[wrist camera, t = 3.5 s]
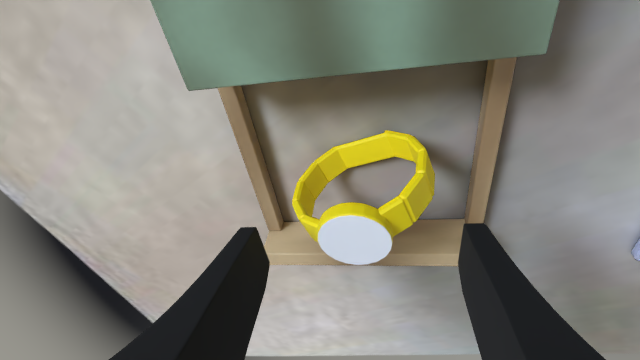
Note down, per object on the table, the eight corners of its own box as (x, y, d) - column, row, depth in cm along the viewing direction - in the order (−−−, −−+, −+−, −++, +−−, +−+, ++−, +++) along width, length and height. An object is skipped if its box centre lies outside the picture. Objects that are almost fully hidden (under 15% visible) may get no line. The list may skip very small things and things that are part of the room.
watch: (415, 104, 15) (432, 193, 10) (431, 152, 16) (453, 249, 12) (297, 145, 17) (268, 234, 13) (320, 185, 19) (303, 277, 14)
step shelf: (602, -430, 7) (713, -593, 5) (477, 230, 19) (490, 275, 17) (105, -260, 9) (18, -313, 7) (275, 232, 22) (263, 272, 19)
